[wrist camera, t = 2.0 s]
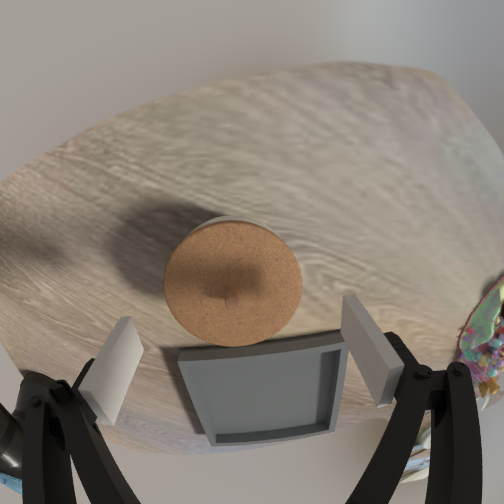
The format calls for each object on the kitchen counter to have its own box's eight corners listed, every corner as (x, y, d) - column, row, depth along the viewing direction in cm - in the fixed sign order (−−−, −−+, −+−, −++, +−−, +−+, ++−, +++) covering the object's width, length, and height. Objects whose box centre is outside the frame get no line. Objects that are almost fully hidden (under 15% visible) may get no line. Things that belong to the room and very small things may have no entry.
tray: (211, 434, 38) (211, 446, 36) (180, 348, 32) (177, 361, 29) (330, 420, 38) (334, 431, 36) (343, 329, 32) (349, 340, 29)
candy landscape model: (526, 314, 37) (549, 333, 28) (464, 390, 42) (483, 415, 33) (511, 251, 31) (546, 271, 22) (430, 356, 36) (458, 391, 27)
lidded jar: (186, 303, 30) (170, 359, 21) (177, 206, 26) (148, 231, 17) (284, 301, 30) (301, 356, 21) (287, 203, 26) (312, 227, 18)
